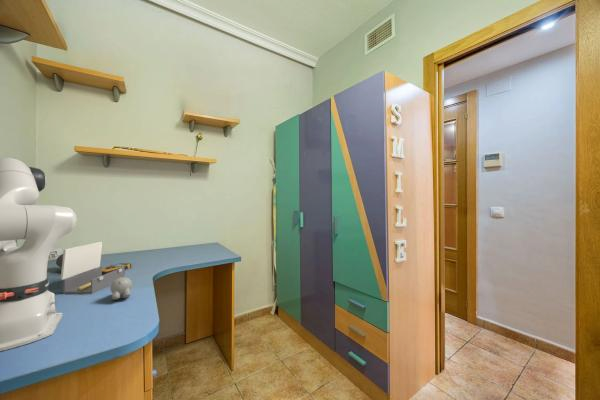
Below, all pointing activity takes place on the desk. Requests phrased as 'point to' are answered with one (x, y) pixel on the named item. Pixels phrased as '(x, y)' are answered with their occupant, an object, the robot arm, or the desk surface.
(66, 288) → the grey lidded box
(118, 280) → the grey toy animal
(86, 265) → the cover
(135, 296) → the desk surface
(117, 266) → the electronic device
